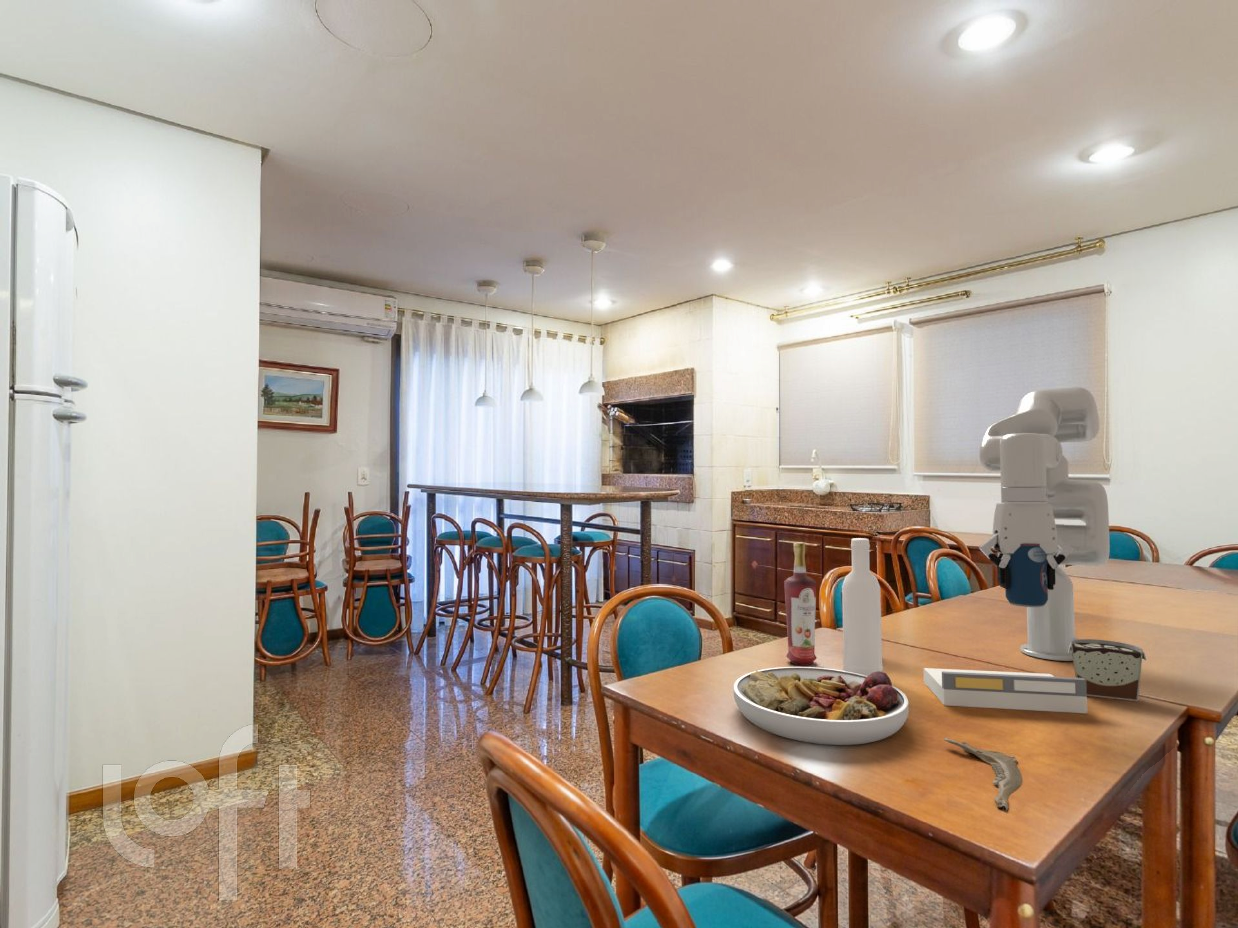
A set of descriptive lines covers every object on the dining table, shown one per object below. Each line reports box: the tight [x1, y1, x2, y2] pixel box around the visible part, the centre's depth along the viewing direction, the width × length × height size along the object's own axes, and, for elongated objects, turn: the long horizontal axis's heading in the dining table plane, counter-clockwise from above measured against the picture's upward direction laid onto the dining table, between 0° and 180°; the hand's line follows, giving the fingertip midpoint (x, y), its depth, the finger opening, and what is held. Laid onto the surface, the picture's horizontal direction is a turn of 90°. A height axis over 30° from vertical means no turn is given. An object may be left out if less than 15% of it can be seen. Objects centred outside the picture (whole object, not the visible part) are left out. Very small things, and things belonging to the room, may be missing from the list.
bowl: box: [733, 666, 910, 746], centre depth 114 cm, size 30×30×8 cm
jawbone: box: [943, 737, 1023, 812], centre depth 90 cm, size 9×20×2 cm, turn 172°
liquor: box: [783, 542, 817, 666], centre depth 149 cm, size 7×7×28 cm
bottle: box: [841, 537, 884, 676], centre depth 137 cm, size 8×8×30 cm
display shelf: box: [923, 667, 1088, 714], centre depth 124 cm, size 24×14×6 cm, turn 79°
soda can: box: [1004, 544, 1048, 608], centre depth 123 cm, size 7×7×12 cm
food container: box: [1068, 638, 1147, 702], centre depth 126 cm, size 12×6×10 cm, turn 65°
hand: (1026, 587), depth 123 cm, fingers closed on soda can, 6 cm apart
